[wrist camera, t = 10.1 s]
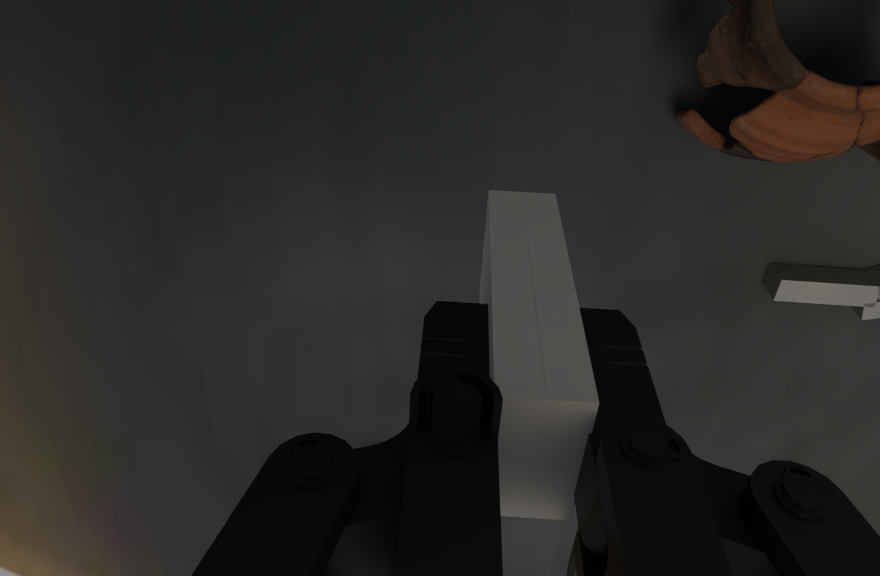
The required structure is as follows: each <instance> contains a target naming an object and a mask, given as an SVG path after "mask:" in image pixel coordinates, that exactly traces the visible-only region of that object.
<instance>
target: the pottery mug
mask: <svg viewBox="0 0 880 576" xmlns="http://www.w3.org/2000/svg"><path fill="white" fill-rule="evenodd" d="M727 1H729V2H730V3H731V4H733V5H734V6H733V9H732V10H731V11H729V12H728V13H727V14H725V15H724V16H723V17H721V18H720V19H719V20H718V21H717V23H716V25H715V26H714V28H713V29H712V30H711V32H710V35H709V37H708V41H707V45H706V47H705V49H704V50H703V52H702V53H701V54H700V55H699V56H698V58H697V61H696V67H697V72H698V77H699V81H700V83H701V84H702V86H703V87H706V88H708V87H712V86H714V85H719V84H721V83H726V84H728V85H732V86H750V87H755V88H762V89H767V90H772V91H773V92H772V93H771V94H770V95H769V96H768V97H767V98H766V99H765V100H764V101H762V102H761V103H760V104H759V105H757V106H756V107H754V108H753V109H751V110H749V111H746V112H743V113H741V114H739V115H737V116H736V117H734V118H733V119H732V121H731V124H730V126H729V133H730V135H731V136H732V137H734V138H735V139H737V140H730V139H727V138H725V137H724V136H722V135H721V134H720V133H719V132H717V131H716V130H715V129H714V128H713V127H712V126H710V125H709V124H708V123H707V122H706V121H705V120H704V119H703V118H702V116H701V115H700V114H699V113H698V112H697V111H696V110H694V109H690V110H688V111H679V112H678V113H677V114H676V118H677V120H678V122H679V123H680V124H681V125H682V126H683V127H684V128H685V129H686V130H687V131H688V132H689V133H690V134H691V135H693V136H694V137H696V138H697V139H699V140H700V141H702V142H704V143H706V144H708V145H710V146H712V147H714V148H716V149H719V150H720V151H721V152H723V153H725V154H727V155H732V156H737V157H741V158H745V159H756V160H761V161H776V162H788V163H791V162H800V161H813V160H818V159H824V158H829V157H833V156H838V155H842V154H844V153H846V152H848V150H849V149H850V148H852V147H854V146H857V147H859V148H861V149H863V150H864V151H865V152H866V153H868V154H869V155H871V156H873V157H874V158H875V159H877V160H878V161H880V81H870V80H867V81H864V82H863V83H862V84H861V85H860V86H852V85H846V84H840V83H836V82H833V81H830V80H828V79H826V78H824V77H822V76H820V75H818V74H816V73H814V72H812V71H810V70H808V69H805V68H804V66H803V65H802V64H801V63H800V61H799V60H798V59H797V58H796V57H795V56H794V55H793V53H792V52H791V51H790V50H789V48H788V47H787V45H786V44H785V42H784V40H783V38H782V35H781V33H780V30H779V27H778V23H777V20H776V16H775V11H774V1H773V0H727Z"/></svg>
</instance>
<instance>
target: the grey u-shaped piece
mask: <svg viewBox="0 0 880 576" xmlns="http://www.w3.org/2000/svg"><path fill="white" fill-rule="evenodd" d="M763 285H764V286H765V288H766V289H767V291H768V292H769V294H770V296H771V297H772V299H773V300H774V301H788V302H803V303H817V304H832V305H846V306H851V307H852V309H853V310H854V311H855V312H856V314H857V315H858V316H859V317H860V319H861V320H867V319H875V318H880V265H878V266H875V267H872V268H869V269H866V270H861V269H847V268H832V267H817V266H802V265H788V264H773V263H771V264H770V266H769V269H768V271H767V274H766V277H765V279H764V282H763Z"/></svg>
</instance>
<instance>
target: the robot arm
mask: <svg viewBox="0 0 880 576" xmlns="http://www.w3.org/2000/svg"><path fill="white" fill-rule="evenodd" d="M641 348H642V346H641V343H640V340H639V337H638V333H637V330H636V327H635V326H634V325H633V324H632V323H631V322H630V321H629V320H628V319H627V318H626V317H625V316H624V314H623V313H622V312H621V311H620V310H607V309H591V308H579V304H578V299H577V294H576V290H575V285H574V280H573V275H572V271H571V266H570V261H569V256H568V252H567V247H566V242H565V237H564V233H563V228H562V223H561V218H560V214H559V209H558V204H557V199H556V195H555V194H547V193H529V192H512V191H495V190H489V193H488V203H487V214H486V225H485V236H484V247H483V258H482V269H481V280H480V304H479V303H462V302H446V301H437V302H436V303H435V304H434V305H433V307H432V308H431V309H430V310H429V312H428V313H427V314H426V315H425V317H424V325H423V335H422V344H421V354H420V362H419V371H418V380H417V381H416V382H415V383H414V386H413V388H412V391H411V393H410V419H409V423H408V425H407V427H406V428H405V429H404V430H402V431H401V432H400V433H399V434H398V435H397V436H395V437H393V438H391V439H389V440H387V441H385V442H382V443H379V444H375V445H371V446H367V447H362V448H357V449H353V448H352V447H351V446H350V445H349V444H348V443H347V442H346V441H345V440H343V439H341V438H338V437H336V436H334V435H332V434H323V433H309V434H304V435H299V436H296V437H294V438H292V439H290V440H288V441H286V442H284V443H282V444H281V445H280V446H279V447H278V448H277V449H276V450H275V451H274V452H273V453H272V454H271V455H270V456H269V457H268V459H267V461H266V462H265V464H264V465H263V467H262V468H261V470H260V471H259V473H258V474H257V476H256V477H255V479H254V480H253V482H252V484H251V485H250V487H249V488H248V490H247V491H246V493H245V494H244V496H243V497H242V499H241V500H240V502H239V503H238V505H237V506H236V508H235V510H234V511H233V513H232V514H231V516H230V517H229V519H228V520H227V522H226V523H225V525H224V526H223V528H222V529H221V531H220V533H219V534H218V536H217V537H216V539H215V540H214V542H213V543H212V545H211V546H210V548H209V549H208V551H207V552H206V554H205V556H204V557H203V559H202V560H201V562H200V563H199V565H198V566H197V568H196V569H195V571H194V572H193V574H192V575H191V576H503V568H502V540H501V516H510V517H525V518H540V519H556V520H570V519H571V515H572V511H573V507H574V503H575V506H576V513H577V520H578V529H577V533H576V537H575V541H574V544H573V548H572V552H571V556H570V560H569V563H568V570H567V576H574V575H575V572H577V576H880V536H879V535H878V534H877V533H876V532H875V530H874V529H873V528H872V527H871V525H870V524H869V523H868V522H867V521H866V519H865V518H864V517H863V516H862V515H861V513H860V512H859V511H858V510H857V509H856V507H855V506H854V505H853V504H852V503H851V501H850V500H849V499H848V498H847V496H846V495H845V494H844V493H843V492H842V491H841V490H840V489H839V488H838V487H837V486H836V485H835V484H834V483H833V482H832V481H831V480H830V479H828V478H827V477H826V476H824V475H822V474H821V473H819V472H817V471H815V470H814V469H812V468H810V467H808V466H805V465H802V464H798V463H795V462H792V461H779V460H772V461H769V462H766V463H763V464H760V465H758V467H757V468H756V469H755V470H754V472H753V473H752V474H751V476H749V475H745V474H742V473H739V472H736V471H733V470H730V469H726V468H723V467H720V466H717V465H714V464H712V463H709V462H707V461H704V460H702V459H700V458H698V457H697V456H695V455H693V454H692V452H691V451H690V449H689V447H688V445H687V444H686V442H685V440H684V439H683V438H682V437H681V436H680V435H679V434H677V433H676V432H675V431H674V430H673V429H672V428H670V427H668V426H667V425H666V422H665V419H664V416H663V413H662V410H661V406H660V403H659V400H658V397H657V394H656V391H655V387H654V384H653V381H652V378H651V375H650V372H649V368H648V366H646V363H647V362H646V359H645V356H644V352H643V350H641Z"/></svg>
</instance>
